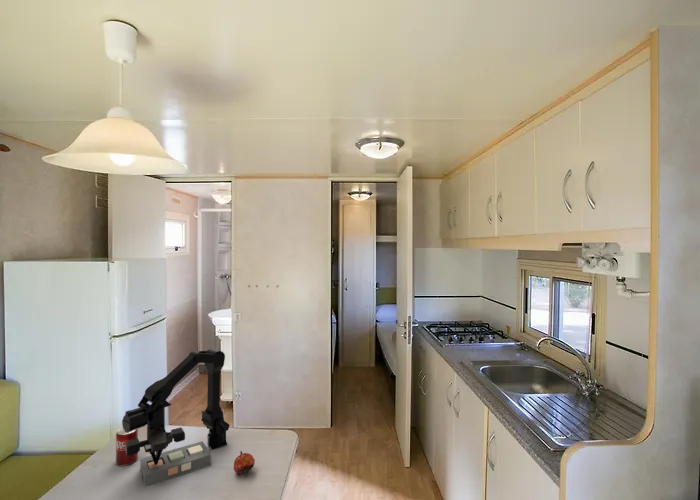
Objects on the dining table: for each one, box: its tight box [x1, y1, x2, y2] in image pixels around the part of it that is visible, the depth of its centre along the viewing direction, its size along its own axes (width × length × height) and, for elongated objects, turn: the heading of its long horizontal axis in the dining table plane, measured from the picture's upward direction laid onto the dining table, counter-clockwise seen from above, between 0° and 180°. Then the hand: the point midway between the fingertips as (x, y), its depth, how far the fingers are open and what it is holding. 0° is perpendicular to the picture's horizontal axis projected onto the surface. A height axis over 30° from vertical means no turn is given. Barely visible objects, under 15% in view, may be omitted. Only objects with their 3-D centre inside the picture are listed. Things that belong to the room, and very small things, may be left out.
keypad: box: [140, 441, 212, 487], centre depth 140 cm, size 22×12×4 cm, turn 126°
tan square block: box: [148, 459, 163, 469], centre depth 136 cm, size 5×5×2 cm
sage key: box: [168, 450, 184, 462], centre depth 140 cm, size 5×5×2 cm
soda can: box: [115, 427, 139, 467], centre depth 143 cm, size 7×7×12 cm
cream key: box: [188, 445, 203, 457], centre depth 144 cm, size 5×5×2 cm
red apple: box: [233, 450, 255, 477], centre depth 136 cm, size 7×7×10 cm
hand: (155, 464), depth 136 cm, fingers closed, pressing on tan square block
